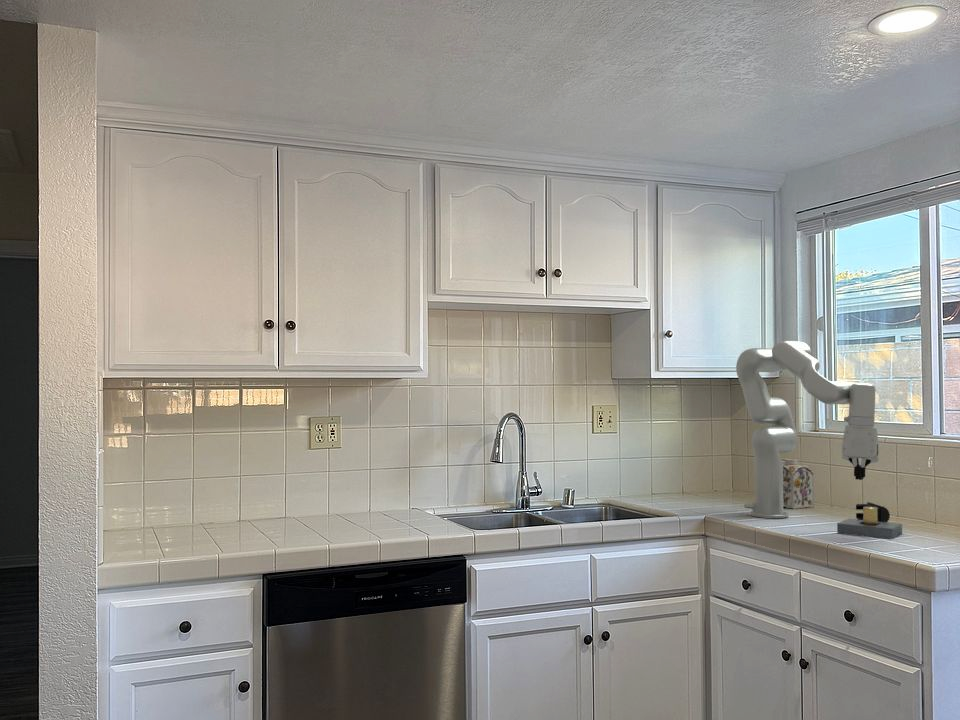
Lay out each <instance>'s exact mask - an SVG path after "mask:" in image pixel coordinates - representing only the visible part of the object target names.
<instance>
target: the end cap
mask: <svg viewBox="0 0 960 720" xmlns="http://www.w3.org/2000/svg"><path fill="white" fill-rule="evenodd" d="M863 507H876V508H877V521H879V522H889V520H890V519H891V516H890V515H891V514H890V511H889V509H888V508H886V507H885V506H882V505H880V504H876V503H872V502H868V501H867V502H866V503H857V504H856V505H855V510H856V511H857V510H859V511H861V510H863ZM855 517H856V518H855V519H858V520H863V512H862V513H861V512H857V513H855Z"/></svg>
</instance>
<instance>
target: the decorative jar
mask: <svg viewBox="0 0 960 720" xmlns="http://www.w3.org/2000/svg"><path fill="white" fill-rule="evenodd" d="M782 464H783V507H786V508H785V509H788V508H793V509H792V510H795V509H794V508H800V509H806V508H805V507H811V508H815V484H814V483H815V481H814V480H815V479H814V478H815V477H814V475H815V474H814V472H813V470H812V469H811V468H810V467H809V466H808V465H806V464H800V463H799V461H798V459H790V458H785V459H784V463H783V462H782Z"/></svg>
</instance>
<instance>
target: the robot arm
mask: <svg viewBox="0 0 960 720" xmlns="http://www.w3.org/2000/svg"><path fill="white" fill-rule="evenodd" d="M735 365H736V366H735V368H736V369H735V370H736V376H737V378H738V381H739V383H740V386H741V389H742V393H743V398H744V401H745V405H746V408H747V412H748V415H749V419H750V420H751V421H752V423H754V424H758V425H770V426H763V427H759V428H758V429H756V430H755V431H754V432H753V434H752V436H751V447H752V452H753V459H754V499H755V501H754V502H744V504H743V505H744V508H745V509H751V510H752V511H750V516H751V517H756V518H763V519H785V517H786V518H788V517H789V513H788V512H785V511H784V508H783V461H782V458H781V457H780V456H781V455H780V454H783V453H790V452H793V451H794V450H795V449H796V448H797V445H798V441H799V438H798V433H797V430H796V425H795V421H794V418H793V414H792V411H791V408H790V406H789V404H788V403H787V402H786V400H784V399H782V398H780V397H774V396H773V397H771V395H770V393H769V391H768V386H767V384H766V383H767V382H766V381H765V380H764V379H763V377H762V376H761V374H760V372H761V373H762V372H766V373H767V372H768V373H769V372H770V373H775V372H781V371H788V372H789V373H791V374H793V375H794V376H795V378H797V379H799V380H800V382H801V385H802V387H803V388H804V390H805V391H806V392H807V393H808V394H809V395H811V396H812V397H813V398H814V399H816V400H817V401H819V402H821V403H822V404H826V405H832V406H833V405H848V406H849V407H848V415H847V416H844V417H843V421H844V422H846V423H847V424H846V425H845V426H844V431H843V437H842V445H841V454H842V457H841V458H842V459H843V460H845V461H848V462H850V463H851V465H852V466H853V467H854V468H853V477H855V480H859V481H861V480H864V478H865V477H866V467H867V466H868V465H870V464H873V463H879V457H878V456H879V452H880V451H879V450H880V449H879V448H880V447H879V446H880V445H879V436H878V427H876V426H875V415H876V414H875V413H876V411H875V410H876V387H875V385H874V384H872V383H868V382H867V383H866V382H865V383H863V382H851V381H841V380H839V381H837V380H836V381H835V380H834V381H833V380H832V381H831V380H829V379H827V378H826V377H824V376H823V375H822V374H820V373H819V370H820V362H819V360H818V359H817V358H815V357H813V356H812V350H811V347H810V346H809V345H808V344H807V343H806V342H803V341H798V340H781V341H779V342H777V343H775V344H774V346H773V347H772V348H766V347H765V348H764V347H762V348H761V347H754V348H752V347H751V348H748V349H745V350H744V351H742V352H741V353H740V354H739V356H738V358H737V361H736V364H735ZM860 459H861V462H860Z"/></svg>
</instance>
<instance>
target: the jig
mask: <svg viewBox="0 0 960 720" xmlns="http://www.w3.org/2000/svg"><path fill="white" fill-rule="evenodd" d="M836 526H837V528H836V529H837V531H836V532H838V533H837V534H843V533H847V534H846V535H852V534H857V535H856V536H861V535H864V536H863V537H871V536H873V538H880V537H883V539H890V538H893V539H895V538H896V536H897V537H898V536H900V535H903V523H900V522H899V523H898V522H897V523H896V522H889V521H888V522H879V521H877V525H866V524H863V520H858V519H857V518H855V519H854V518H847V519H844V520H842V521H840V522H838V523H837V524H836ZM894 537H895V538H894Z"/></svg>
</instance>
